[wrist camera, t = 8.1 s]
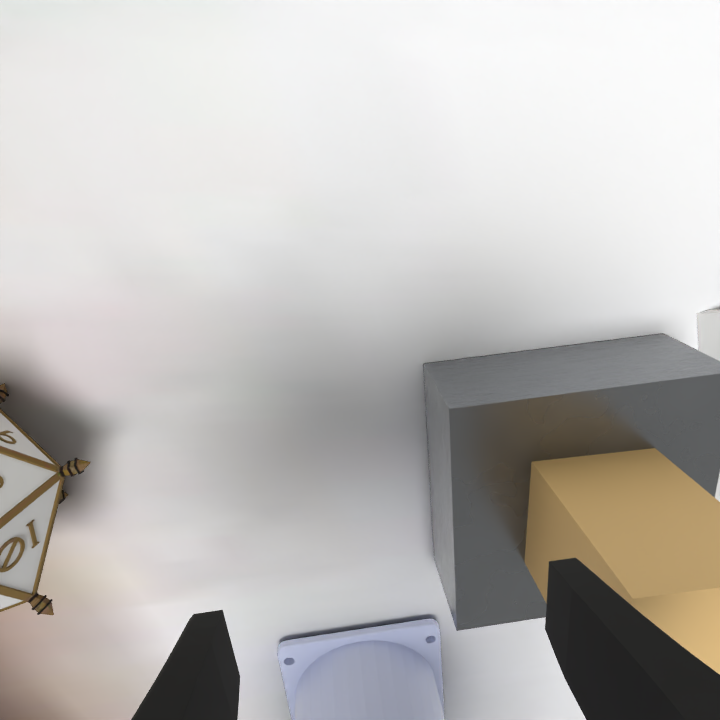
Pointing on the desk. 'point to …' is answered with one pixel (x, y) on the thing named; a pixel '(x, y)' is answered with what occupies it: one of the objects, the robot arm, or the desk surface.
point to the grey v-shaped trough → (710, 345)
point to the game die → (27, 512)
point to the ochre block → (633, 538)
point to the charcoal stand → (549, 448)
